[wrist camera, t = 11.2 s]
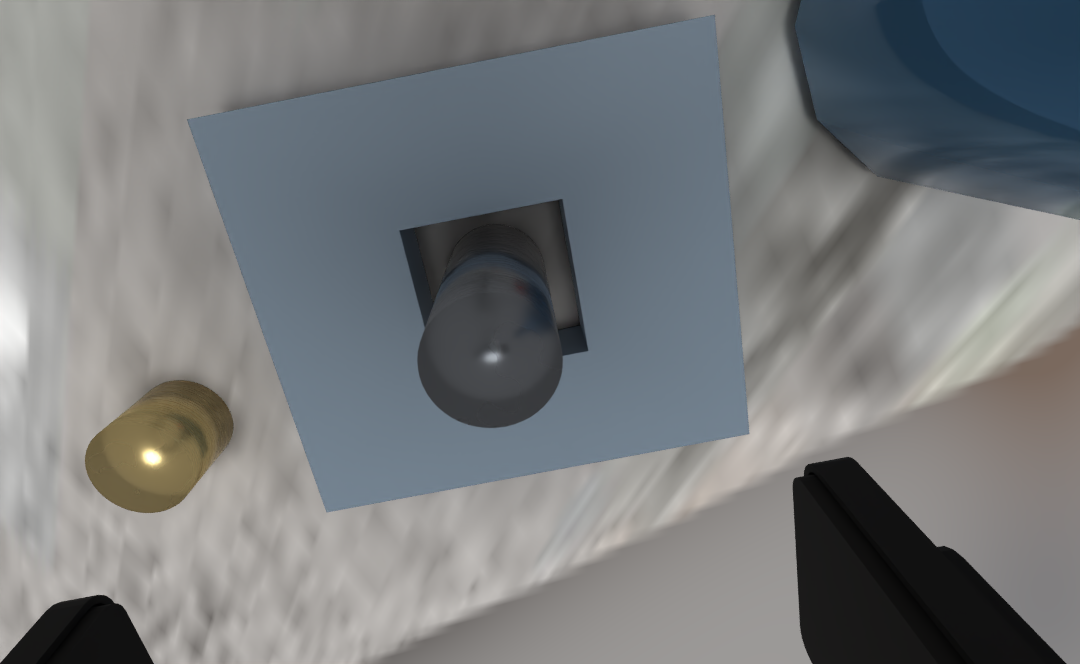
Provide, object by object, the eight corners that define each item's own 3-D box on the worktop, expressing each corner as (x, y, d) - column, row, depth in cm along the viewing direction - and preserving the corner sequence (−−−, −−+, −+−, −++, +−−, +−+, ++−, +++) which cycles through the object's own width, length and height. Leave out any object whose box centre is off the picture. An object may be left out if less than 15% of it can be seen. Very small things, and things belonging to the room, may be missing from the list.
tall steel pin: (438, 234, 27) (400, 309, 17) (534, 215, 27) (549, 280, 17) (460, 324, 28) (436, 439, 19) (551, 307, 28) (573, 413, 19)
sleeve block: (223, 116, 25) (187, 119, 22) (690, 24, 24) (714, 14, 22) (343, 473, 30) (326, 512, 27) (726, 402, 30) (749, 434, 27)
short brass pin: (125, 389, 28) (67, 433, 25) (215, 372, 28) (170, 414, 25) (160, 467, 30) (110, 521, 26) (245, 451, 30) (207, 502, 26)
